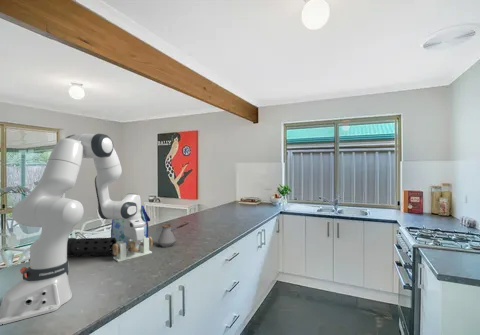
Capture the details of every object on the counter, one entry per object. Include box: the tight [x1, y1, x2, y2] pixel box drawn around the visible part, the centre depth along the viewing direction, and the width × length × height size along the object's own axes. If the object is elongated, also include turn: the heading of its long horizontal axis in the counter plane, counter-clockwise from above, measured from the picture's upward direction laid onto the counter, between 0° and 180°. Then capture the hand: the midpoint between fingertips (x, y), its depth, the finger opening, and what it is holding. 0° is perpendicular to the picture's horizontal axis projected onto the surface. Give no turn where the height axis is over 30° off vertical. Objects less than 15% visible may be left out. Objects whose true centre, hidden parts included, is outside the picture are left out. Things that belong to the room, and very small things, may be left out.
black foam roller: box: [67, 237, 117, 257], centre depth 144 cm, size 10×28×10 cm, turn 93°
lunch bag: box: [110, 204, 151, 245], centre depth 168 cm, size 22×17×26 cm
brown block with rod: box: [112, 236, 154, 256], centre depth 143 cm, size 20×6×6 cm, turn 135°
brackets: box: [113, 236, 153, 262], centre depth 143 cm, size 19×7×9 cm, turn 135°
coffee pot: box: [157, 222, 190, 248], centre depth 161 cm, size 21×12×15 cm, turn 79°
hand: (133, 245), depth 143 cm, fingers open, 8 cm apart
